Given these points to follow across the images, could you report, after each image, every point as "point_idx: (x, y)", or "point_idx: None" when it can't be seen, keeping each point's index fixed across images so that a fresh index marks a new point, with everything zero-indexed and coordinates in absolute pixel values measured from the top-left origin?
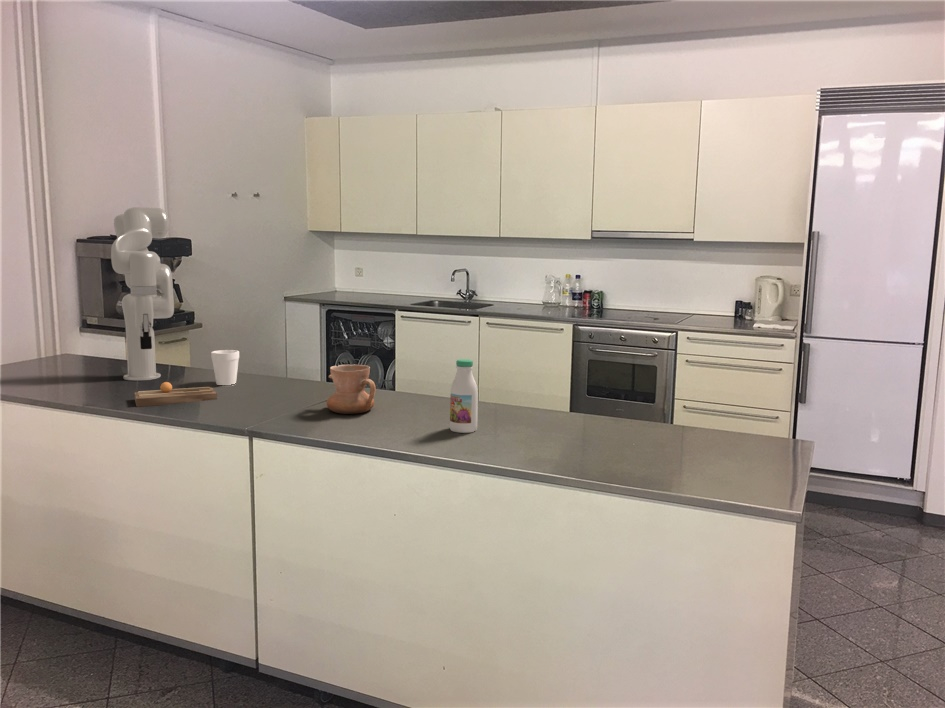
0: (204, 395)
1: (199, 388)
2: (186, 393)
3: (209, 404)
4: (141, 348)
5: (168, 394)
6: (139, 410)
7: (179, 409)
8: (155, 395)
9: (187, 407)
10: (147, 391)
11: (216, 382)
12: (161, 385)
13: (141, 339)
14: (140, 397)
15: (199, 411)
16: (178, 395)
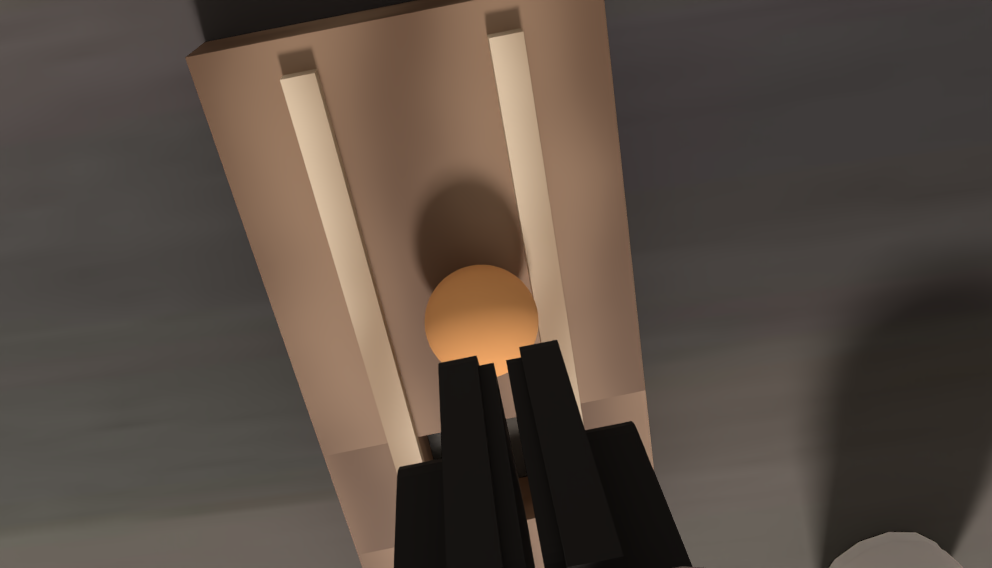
0: (363, 559)
1: None
2: (392, 456)
3: (264, 558)
4: (439, 374)
5: (357, 331)
6: (29, 97)
7: (78, 403)
8: (327, 226)
9: (158, 444)
10: (505, 131)
11: (902, 566)
12: (455, 299)
13: (446, 546)
14: (267, 90)
15: (3, 533)
16: (333, 405)
